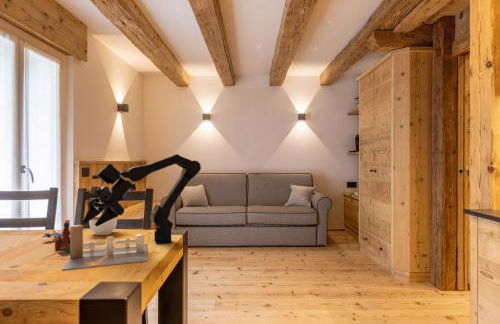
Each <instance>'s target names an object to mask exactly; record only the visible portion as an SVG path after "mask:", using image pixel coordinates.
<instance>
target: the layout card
mask: <svg viewBox="0 0 500 324" xmlns="http://www.w3.org/2000/svg"><path fill="white" fill-rule="evenodd" d="M134 245H135V244H129V246H134ZM123 246H124V245H116V246H114V254H113V255H107V246H105V247H103V248H105V252H100V253H94V255H91V256H90V253H89V254H83V257H80V258H70V257H69V259H68V260H67V262H66V263H65V264H64V265H63V267H62V269H61V271H68V270H79V269H80V270H81V269H89V268H90V269H91V268H97V267H107V266H117V265H127V264H134V263H135V264H136V263H137V264H139V263H143V262H144V263H146V262H148V261H149V257H148V245H147V243H144V252H136V249H132V250H129V252H126V250H122V251H115V247H123ZM100 248H101V247H94V249H100ZM89 249H90V248H83V250H89Z"/></svg>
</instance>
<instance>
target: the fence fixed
mask: <svg viewBox="0 0 500 324" xmlns="http://www.w3.org/2000/svg"><path fill="white" fill-rule="evenodd" d="M114 239H115V238H114V236H107V237H106V247H107V255H113V254H114V247H115V246H114V245H119V244H120V245H121V244H125V245H122V246H123V247H115V251H122V250H126V252H129V250H132V249H136V252H144V244H145V234H143V233H139V234H136V235H135V238H130V237H125V239H116V240H114ZM114 242H115V243H114ZM131 243H135V244H133V245H134V246H129V245H130V244H131Z"/></svg>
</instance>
